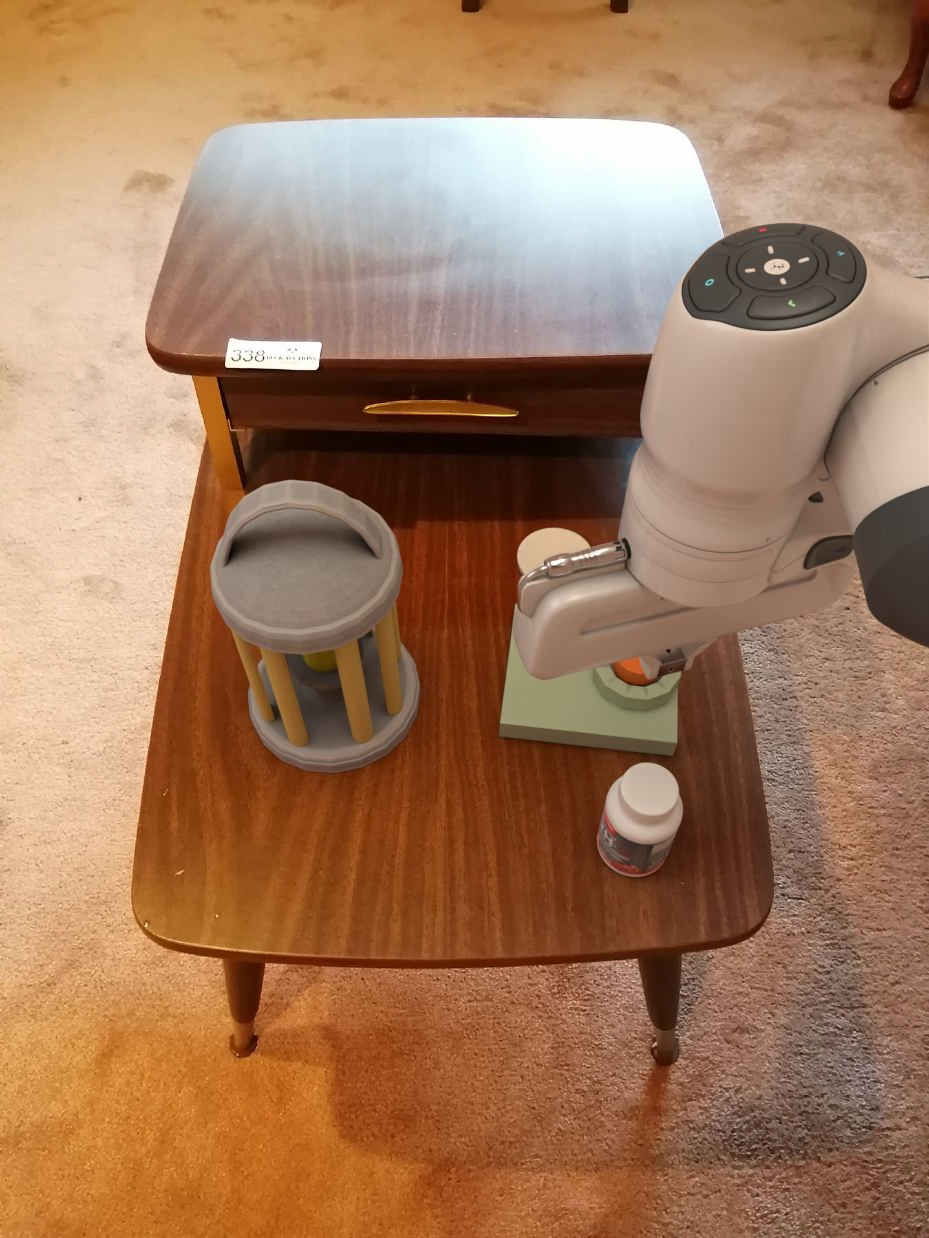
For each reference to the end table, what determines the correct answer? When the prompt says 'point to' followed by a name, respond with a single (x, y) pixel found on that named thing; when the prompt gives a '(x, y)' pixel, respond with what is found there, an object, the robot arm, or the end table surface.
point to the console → (590, 709)
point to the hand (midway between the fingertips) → (663, 666)
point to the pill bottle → (640, 820)
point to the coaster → (547, 547)
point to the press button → (632, 672)
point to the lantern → (317, 624)
